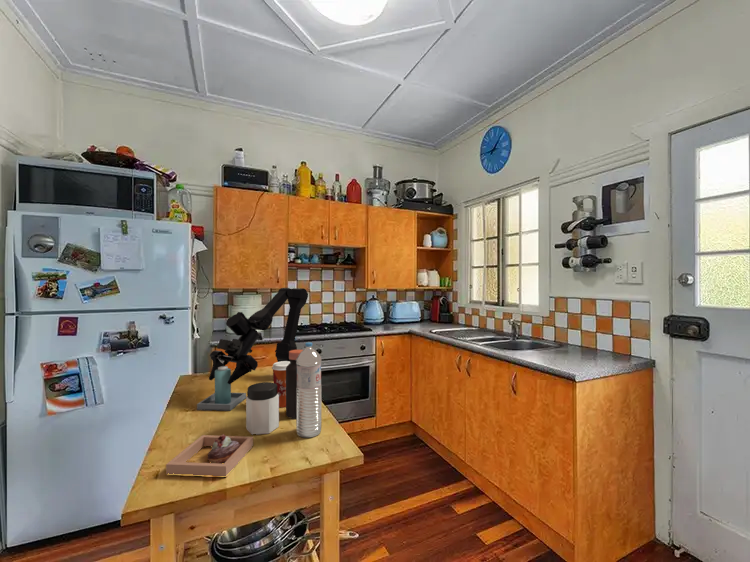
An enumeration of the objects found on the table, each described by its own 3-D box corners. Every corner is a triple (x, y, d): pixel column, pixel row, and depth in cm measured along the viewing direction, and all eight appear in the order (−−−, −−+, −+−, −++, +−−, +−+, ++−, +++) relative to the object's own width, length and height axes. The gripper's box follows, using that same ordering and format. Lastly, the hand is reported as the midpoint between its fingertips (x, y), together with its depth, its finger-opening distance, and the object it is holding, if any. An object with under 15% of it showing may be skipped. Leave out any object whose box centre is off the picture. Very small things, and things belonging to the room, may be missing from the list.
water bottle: (310, 441, 87) (310, 346, 87) (291, 435, 90) (290, 343, 90) (326, 430, 93) (326, 342, 93) (307, 425, 96) (307, 339, 96)
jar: (261, 419, 100) (261, 380, 100) (284, 423, 97) (283, 383, 97) (239, 432, 92) (239, 389, 92) (264, 437, 89) (263, 393, 89)
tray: (246, 398, 118) (246, 392, 118) (230, 410, 107) (230, 404, 107) (215, 397, 119) (215, 392, 119) (197, 410, 108) (197, 404, 108)
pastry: (211, 450, 83) (211, 430, 83) (243, 446, 85) (243, 427, 85) (203, 468, 75) (203, 446, 75) (239, 463, 77) (239, 441, 77)
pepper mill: (231, 399, 116) (230, 364, 116) (230, 403, 112) (230, 368, 112) (215, 401, 114) (215, 366, 115) (214, 405, 110) (214, 369, 110)
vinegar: (285, 411, 106) (285, 349, 106) (306, 409, 108) (306, 348, 108) (286, 420, 100) (286, 354, 100) (309, 417, 102) (309, 352, 102)
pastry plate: (253, 446, 84) (253, 436, 84) (226, 478, 71) (226, 466, 71) (202, 444, 85) (202, 435, 85) (166, 475, 72) (166, 464, 72)
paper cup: (275, 410, 107) (275, 367, 107) (269, 403, 114) (269, 362, 114) (298, 405, 111) (298, 364, 111) (291, 398, 118) (291, 359, 118)
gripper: (214, 328, 120) (185, 365, 111) (251, 331, 112) (223, 372, 102) (232, 345, 128) (206, 382, 118) (268, 350, 119) (244, 390, 109)
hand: (219, 381), depth 112 cm, fingers open, 9 cm apart
